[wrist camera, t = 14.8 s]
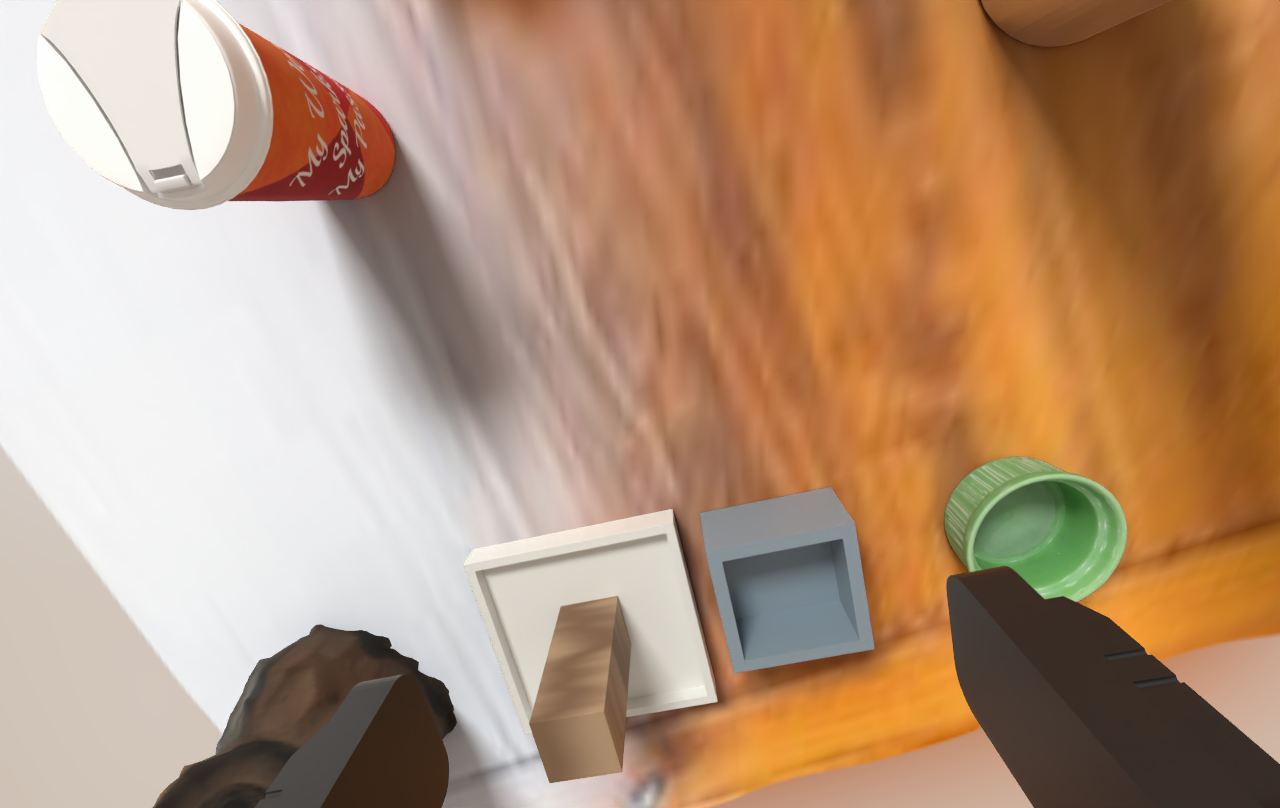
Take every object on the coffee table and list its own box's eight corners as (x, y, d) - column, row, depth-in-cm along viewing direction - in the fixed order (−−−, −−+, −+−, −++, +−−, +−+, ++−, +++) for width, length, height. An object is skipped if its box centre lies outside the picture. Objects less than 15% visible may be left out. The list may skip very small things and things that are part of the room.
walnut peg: (617, 595, 40) (603, 711, 30) (631, 644, 41) (622, 771, 31) (560, 606, 40) (529, 723, 30) (575, 654, 41) (549, 783, 31)
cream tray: (672, 508, 39) (673, 523, 37) (715, 680, 42) (717, 701, 41) (472, 549, 40) (463, 565, 38) (530, 712, 44) (524, 734, 42)
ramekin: (988, 596, 40) (1027, 639, 36) (905, 510, 38) (935, 544, 34) (1104, 513, 38) (1160, 548, 34) (1022, 418, 36) (1069, 443, 32)
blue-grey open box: (830, 486, 38) (855, 523, 33) (849, 599, 40) (874, 648, 35) (700, 513, 39) (705, 552, 34) (725, 622, 41) (734, 673, 36)
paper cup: (430, 205, 34) (280, 186, 20) (306, 229, 35) (80, 226, 21) (392, 55, 32) (195, -75, 18) (260, 83, 32) (-24, -22, 19)
